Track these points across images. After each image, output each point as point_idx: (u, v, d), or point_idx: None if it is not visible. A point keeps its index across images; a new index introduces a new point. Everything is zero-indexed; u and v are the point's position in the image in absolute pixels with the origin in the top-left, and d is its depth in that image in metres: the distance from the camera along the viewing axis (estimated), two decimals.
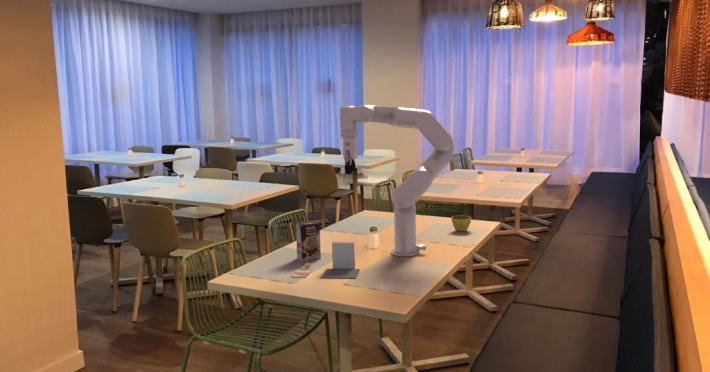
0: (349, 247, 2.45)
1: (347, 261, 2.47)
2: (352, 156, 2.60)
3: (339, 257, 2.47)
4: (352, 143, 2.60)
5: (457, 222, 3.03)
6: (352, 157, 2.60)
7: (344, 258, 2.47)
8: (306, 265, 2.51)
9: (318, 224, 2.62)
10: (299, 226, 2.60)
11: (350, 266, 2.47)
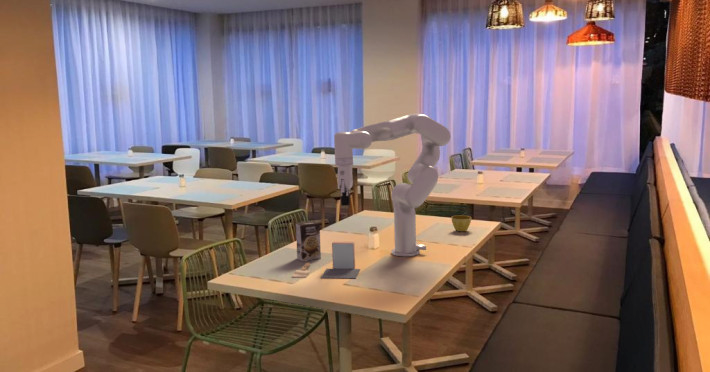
0: (349, 247, 2.45)
1: (347, 261, 2.47)
2: (347, 185, 2.47)
3: (339, 257, 2.47)
4: (347, 171, 2.47)
5: (457, 222, 3.03)
6: (347, 186, 2.47)
7: (344, 258, 2.47)
8: (306, 265, 2.51)
9: (318, 224, 2.62)
10: (299, 226, 2.60)
11: (350, 266, 2.47)
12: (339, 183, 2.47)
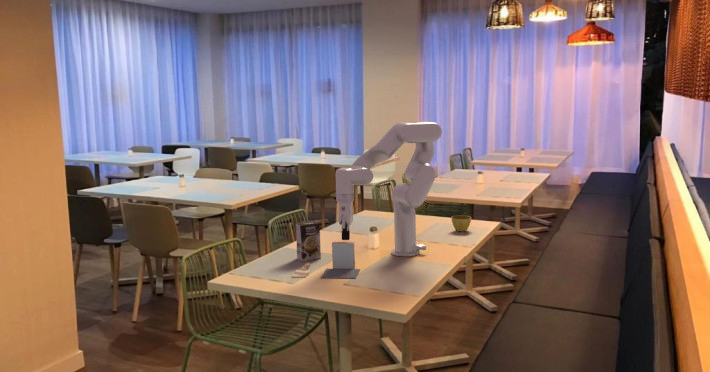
0: (349, 247, 2.45)
1: (347, 261, 2.47)
2: (348, 221, 2.49)
3: (339, 257, 2.47)
4: (348, 208, 2.49)
5: (457, 222, 3.03)
6: (348, 222, 2.49)
7: (344, 258, 2.47)
8: (306, 265, 2.51)
9: (318, 224, 2.62)
10: (299, 226, 2.60)
11: (350, 266, 2.47)
12: (340, 219, 2.50)
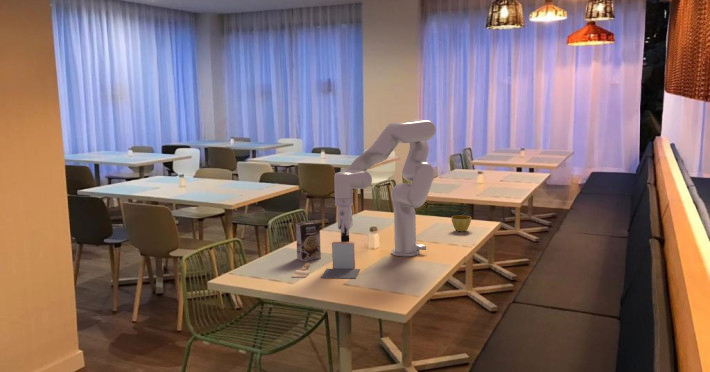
0: (349, 247, 2.45)
1: (347, 261, 2.47)
2: (347, 226, 2.46)
3: (339, 257, 2.47)
4: (347, 212, 2.46)
5: (457, 222, 3.03)
6: (347, 227, 2.46)
7: (344, 258, 2.47)
8: (306, 265, 2.51)
9: (318, 224, 2.62)
10: (299, 226, 2.60)
11: (350, 266, 2.47)
12: (339, 223, 2.47)
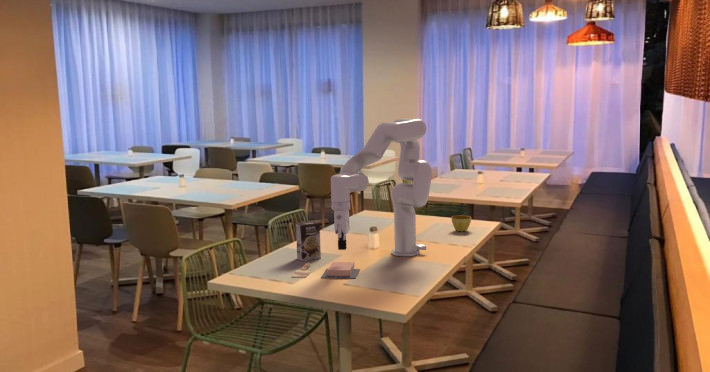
0: None
1: None
2: (344, 230, 2.39)
3: None
4: (344, 216, 2.38)
5: (457, 222, 3.03)
6: (344, 231, 2.39)
7: None
8: (306, 265, 2.51)
9: (318, 224, 2.62)
10: (299, 226, 2.60)
11: None
12: (336, 228, 2.39)
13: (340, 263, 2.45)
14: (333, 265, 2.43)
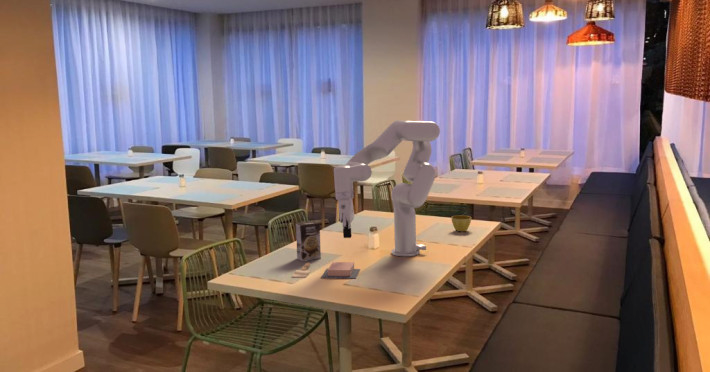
0: None
1: None
2: (348, 219, 2.46)
3: None
4: (348, 205, 2.46)
5: (457, 222, 3.03)
6: (349, 220, 2.47)
7: None
8: (306, 265, 2.51)
9: (318, 224, 2.62)
10: (299, 226, 2.60)
11: None
12: (340, 217, 2.47)
13: (340, 263, 2.45)
14: (333, 265, 2.43)
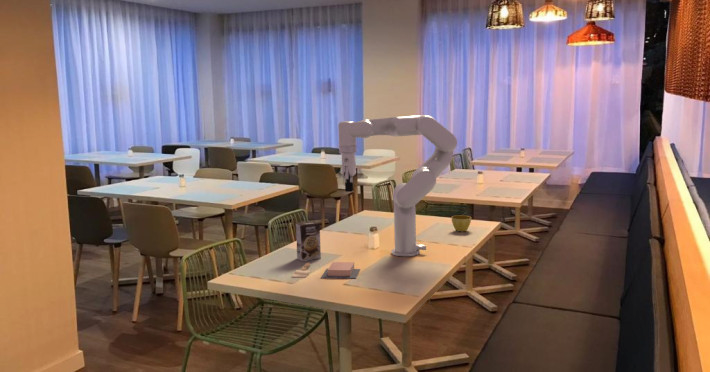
0: None
1: None
2: (351, 172, 2.57)
3: None
4: (351, 159, 2.57)
5: (457, 222, 3.03)
6: (351, 173, 2.57)
7: None
8: (306, 265, 2.51)
9: (318, 224, 2.62)
10: (299, 226, 2.60)
11: None
12: (343, 170, 2.58)
13: (340, 263, 2.45)
14: (333, 265, 2.43)
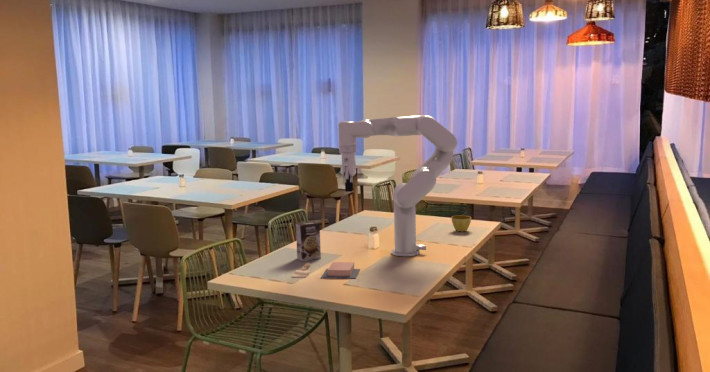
0: None
1: None
2: (351, 172, 2.57)
3: None
4: (351, 159, 2.57)
5: (457, 222, 3.03)
6: (351, 173, 2.57)
7: None
8: (306, 265, 2.51)
9: (318, 224, 2.62)
10: (299, 226, 2.60)
11: None
12: (343, 170, 2.58)
13: (340, 263, 2.45)
14: (333, 265, 2.43)
